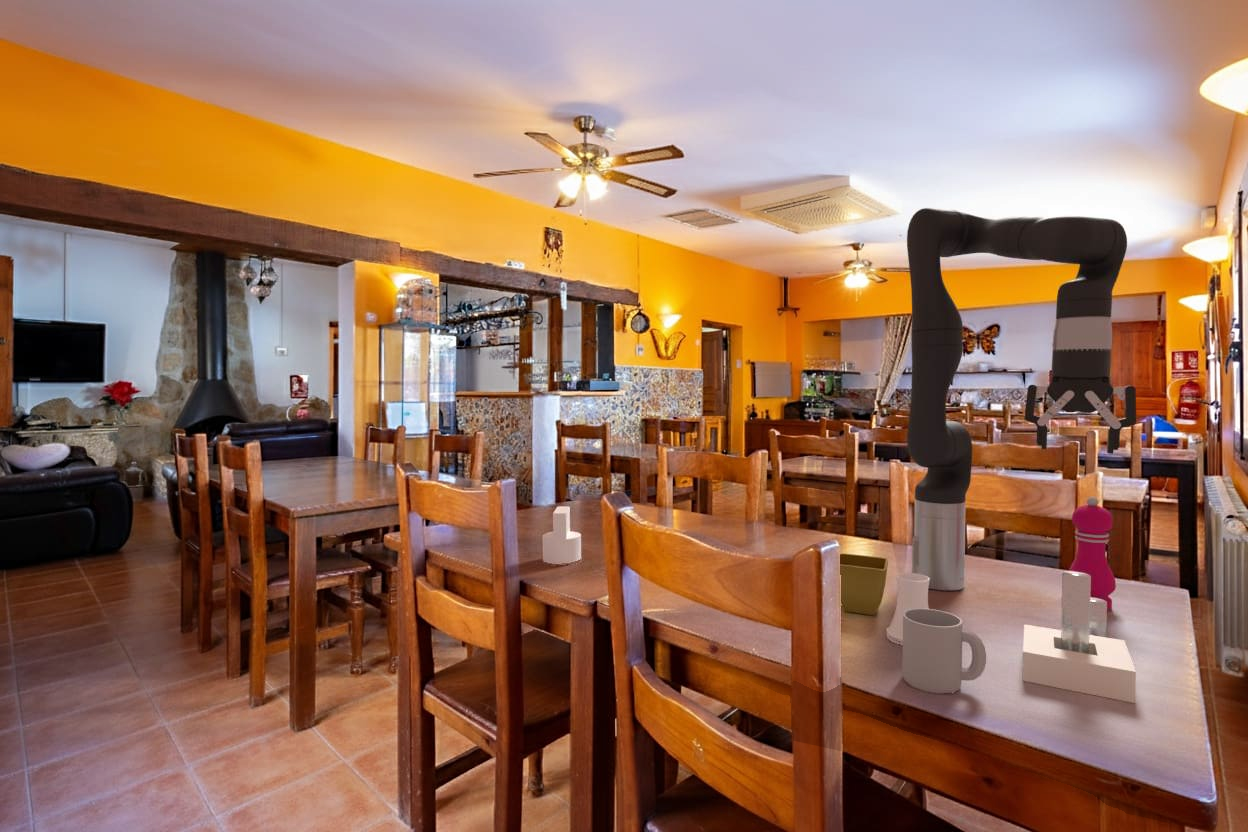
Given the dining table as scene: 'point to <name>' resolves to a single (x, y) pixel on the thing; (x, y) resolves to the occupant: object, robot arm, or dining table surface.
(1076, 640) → the tall pin
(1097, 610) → the short pin
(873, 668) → the dining table surface
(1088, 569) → the pepper mill
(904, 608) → the vase
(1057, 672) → the socket block
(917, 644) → the cup
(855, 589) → the flower pot
